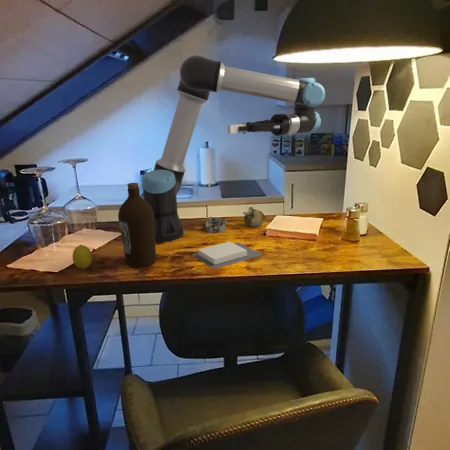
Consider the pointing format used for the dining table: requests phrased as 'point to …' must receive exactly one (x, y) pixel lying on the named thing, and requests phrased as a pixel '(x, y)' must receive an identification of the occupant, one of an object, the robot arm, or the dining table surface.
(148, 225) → the olive oil
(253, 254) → the mat
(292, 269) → the dining table surface
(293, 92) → the robot arm
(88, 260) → the lemon
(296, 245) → the dining table surface
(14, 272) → the dining table surface
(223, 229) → the egg carton
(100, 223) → the dining table surface
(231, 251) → the tile
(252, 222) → the onion
